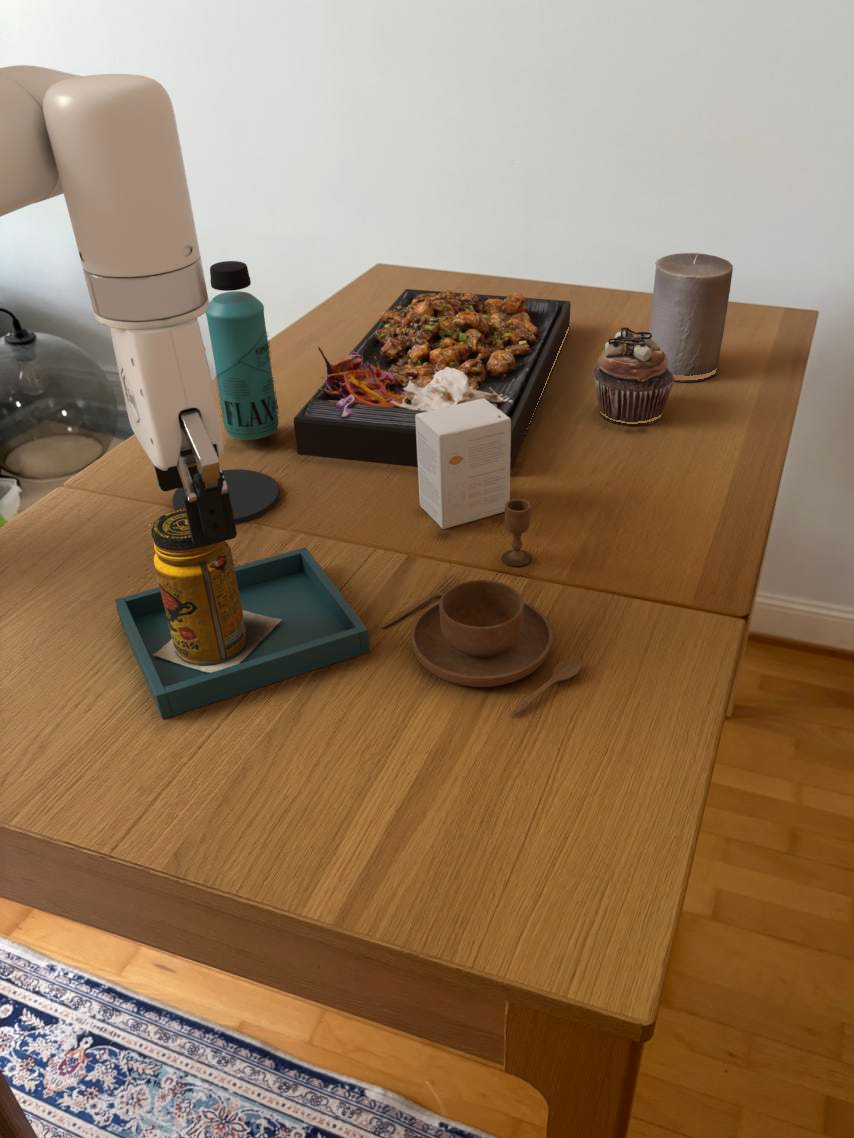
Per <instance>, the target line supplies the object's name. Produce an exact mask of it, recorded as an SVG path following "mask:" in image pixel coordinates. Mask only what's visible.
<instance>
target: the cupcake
mask: <svg viewBox="0 0 854 1138" xmlns="http://www.w3.org/2000/svg"><path fill="white" fill-rule="evenodd" d="M635 335H637V336H636V337H635ZM667 366H668V361H667V357H666V354H665V353H664V352H663V351H661V349H660V347H659V344H658V343H657V342H656V341H655V340H654V339H653V338H652V334H651V333H650V332H649V331H634V330H631V329H630V328H629V327H628V326H627V327H626V326H624V327H621V328H620V331H618V332H617V333H615V336H614V338H609V339H608V341H607V342H606V343H605V344H604V350H603V351H602V352H601V353H600V355H599V357H598V360H597V362H596V364H595V366H594V368H593V379H594V384H595V389H596V396H597V404H598V405H597V406H598V411H599V410H600V411H601V412H602V413H603V414H606V416H608V417H609V418H612V419H613V420H614V419H615V420H621V421H625V422H638V421H645V420H646V421H647V420H649V419H652V418H654V417H658V416H659V415H661V414H664V412H665V409H666V407H667V402H668V399H669V396H670V393H671V390H672V387H673V385H674V382H675V381H674V379H675V378H674V376H673V374H671V372H670V370H669V369H667ZM600 411H599V415H600V417H601V418H602V419H604V420H605V421H607V422H610V423H612V424H616V425H621V426H624V427H625V426H626V427H643V426H648V425H652V424H654V423H656V422H658V421H660V420H661V418H663V415H662V416H661V417H660V418H658V419H656V420H654V421H651V422H647V423H638V424H627V423H621V422H616V421H613V420H610V419H609V418H606V417H605V416H603V415H602V414H601V413H600Z"/></svg>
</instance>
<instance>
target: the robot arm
mask: <svg viewBox="0 0 854 1138" xmlns="http://www.w3.org/2000/svg"><path fill="white" fill-rule="evenodd" d="M60 195H63V196H64V200H65V204H66V208H67V212H68V215H69V219H70V223H71V224H70V225H71V227H72V231H73V236H74V239H75V243H76V247H77V251H78V255H79V259H80V262H81V266H82V270H83V275H84V279H85V282H86V287H87V291H88V295H89V298H90V302H91V306H92V310H93V314H94V318H95V320H96V322H97V323H98V324H100V325H102V326H106V327H107V328H109V331H110V335H111V340H112V341H111V342H112V346H113V351H114V352H113V353H114V356H115V360H116V365H117V370H118V375H119V379H120V384H121V388H122V393H123V398H124V403H125V408H126V413H127V418H128V421H129V424H130V427H131V429H132V432H133V433H134V436H135V437H136V439H137V440H138V442H139V444H140V445H141V447H142V448H143V450H144V452H145V454H146V455H147V457H148V458H149V460H150V461H151V463H152V465H153V467H154V471H155V475H156V480H157V483H158V487H159V489H160V490H161V491H162V492H169V491H173V490H177V489H178V488H182V487H184V489H185V492H186V495H187V497H184V498H183V502H184V507H185V511H186V515H187V520H188V524H189V529H190V533H191V537H192V542H193V543H194V545H195V546H196V547H197V548H201V547H204V546H208V545H212V544H215V543H219V542H223V541H225V542H226V541H230V540H234V539H235V538H236V537H237V535H238V532H237V526H236V524H235V521H234V516H233V511H232V505H231V500H230V495H229V490H228V488H227V484H226V481H225V478H224V475H223V472H222V470H223V469H222V467H221V464H220V459H219V458H220V457H221V456H222V454H223V453H224V451H225V447H224V437H223V429H222V424H221V423H222V422H221V419H220V418H221V417H220V413H219V407H218V403H217V399H216V393H215V390H214V383H213V380H212V374H211V370H210V365H209V361H208V357H207V353H206V351H207V350H206V346H205V344H204V340H203V337H202V332H201V327H200V324H199V319H198V318H200V317H202V316H203V315H205V314H206V313H205V312H206V311H207V310H208V309H209V302H210V300H209V295H208V289H207V284H206V277H205V273H204V267H203V262H202V256H201V251H200V247H199V241H198V240H199V239H198V234H197V229H196V224H195V219H194V218H195V217H194V212H193V207H192V202H191V201H192V200H191V196H190V189H189V185H188V179H187V174H186V169H185V162H184V157H183V152H182V147H181V141H180V136H179V131H178V125H177V119H176V115H175V109H174V106H173V102H172V99H171V97H170V95H169V93H168V91H167V89H166V88H165V87H164V86H163V85H162V84H161V83H160V82H158V81H157V80H156V79H154V78H152V77H148V76H145V75H140V74H129V73H101V74H91V75H79V74H73V73H69V72H65V71H60V70H57V69H52V68H48V67H44V66H37V65H28V64H27V65H23V64H22V65H19V64H18V65H10V66H4V67H0V218H1V217H3V216H6V215H9V214H11V213H13V212H16V211H19V210H21V209H23V208H26V207H28V206H31V205H33V204H38V203H40V202H43V201H47V200H49V199H53V198H55V197H57V196H60Z"/></svg>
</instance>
